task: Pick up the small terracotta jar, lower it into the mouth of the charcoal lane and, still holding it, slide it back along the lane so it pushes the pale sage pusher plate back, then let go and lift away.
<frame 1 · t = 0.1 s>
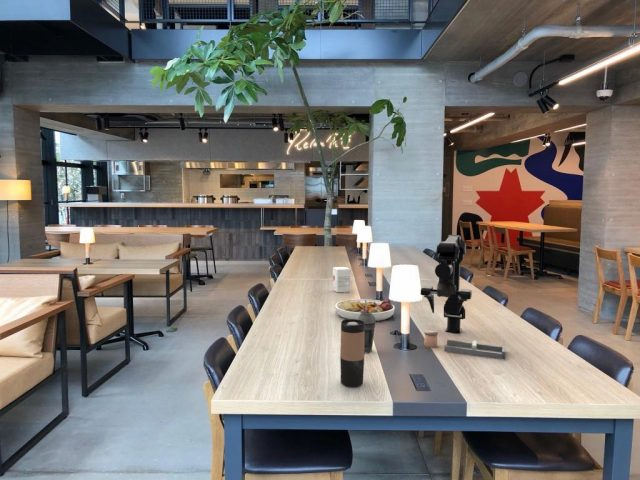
hand: (445, 314, 176), 14 cm above the table, tool pointing down, fingers open, 9 cm apart
lane: (474, 351, 176), on the table
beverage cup: (365, 351, 175), on the table
jar: (430, 345, 182), on the table
bowl: (364, 315, 230), on the table
supplement box: (341, 291, 287), on the table
pusher plate: (474, 346, 176), point 2 cm above the table, slide at 0.0 cm
travel mug: (351, 383, 145), on the table
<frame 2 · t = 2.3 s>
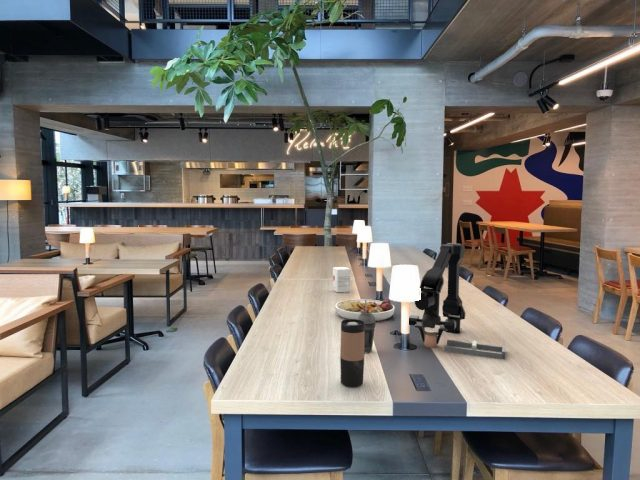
hand: (430, 343, 182), 1 cm above the table, tool pointing down, fingers closed on jar, 5 cm apart
jar: (430, 345, 182), on the table, touching gripper
everything else where it was.
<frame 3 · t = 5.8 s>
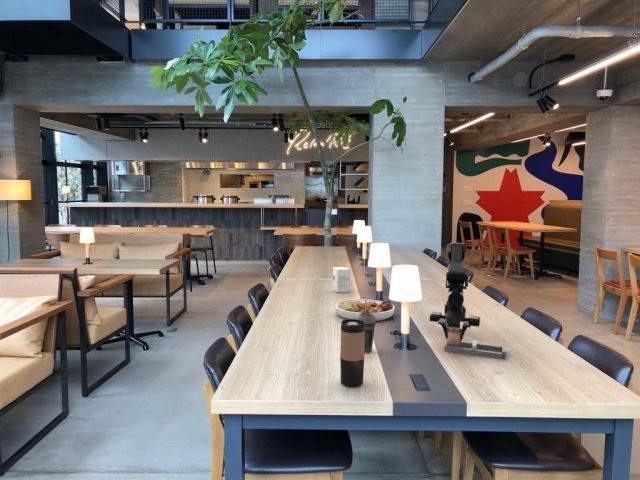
hand: (453, 339, 179), 4 cm above the table, tool pointing down, fingers closed on jar, 5 cm apart
jar: (453, 342, 179), point 2 cm above the table, touching gripper
everything else where it was.
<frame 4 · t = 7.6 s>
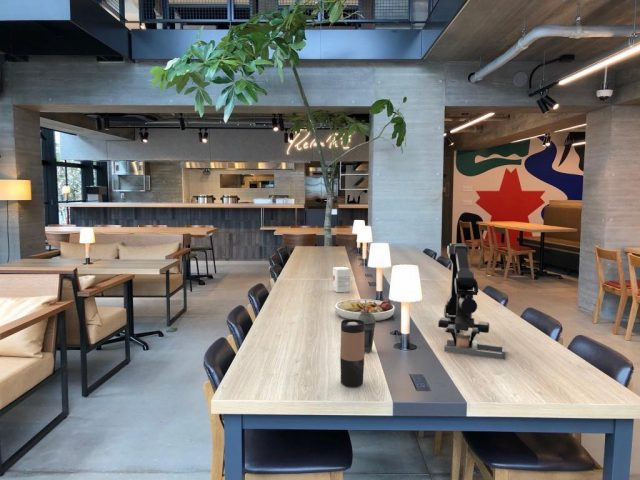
hand: (462, 346, 177), 2 cm above the table, tool pointing down, fingers closed on jar, 5 cm apart
jar: (462, 348, 177), resting in lane, touching gripper
pusher plate: (474, 346, 176), point 2 cm above the table, slide at 0.2 cm, touching gripper
everything else where it was.
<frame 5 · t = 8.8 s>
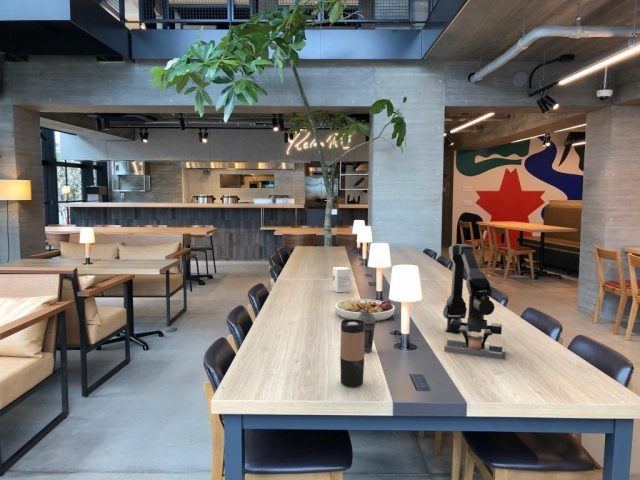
hand: (474, 347, 176), 2 cm above the table, tool pointing down, fingers closed on jar, 5 cm apart
jar: (474, 350, 176), resting in lane, touching gripper
pusher plate: (487, 348, 174), point 2 cm above the table, slide at 4.6 cm, touching gripper
everything else where it was.
when the fingers open (2 cm above the table, at t = 9.0 s): jar stays where it is, resting in lane.
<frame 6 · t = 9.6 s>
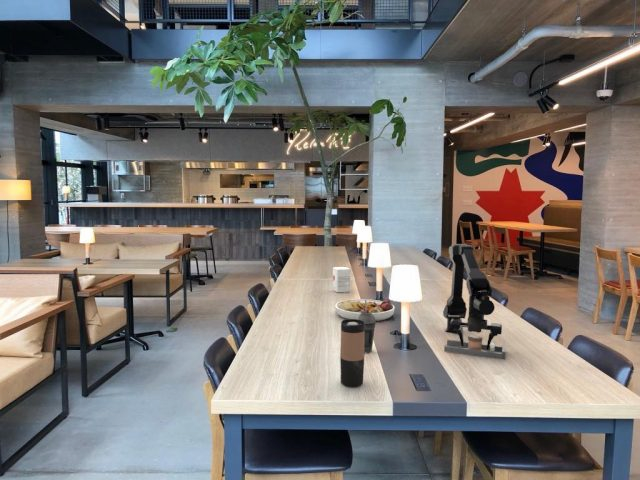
hand: (474, 347, 176), 2 cm above the table, tool pointing down, fingers open, 9 cm apart
jar: (474, 351, 176), resting in lane
pusher plate: (492, 349, 173), point 2 cm above the table, slide at 6.6 cm, touching gripper
everything else where it was.
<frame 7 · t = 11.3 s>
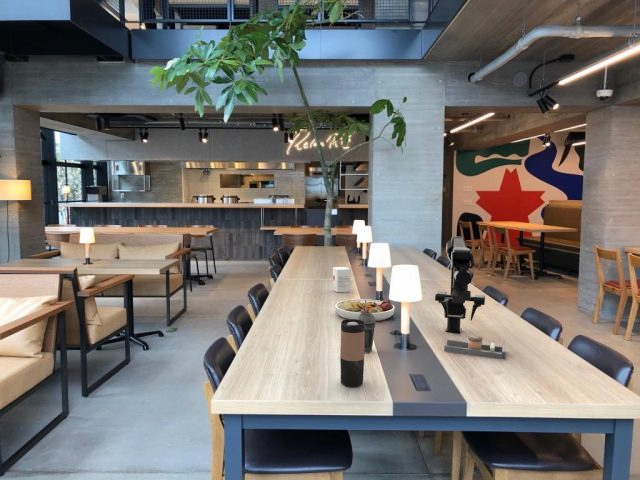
hand: (459, 319, 180), 11 cm above the table, tool pointing down, fingers open, 9 cm apart
pusher plate: (492, 349, 173), point 2 cm above the table, slide at 6.6 cm
everything else where it was.
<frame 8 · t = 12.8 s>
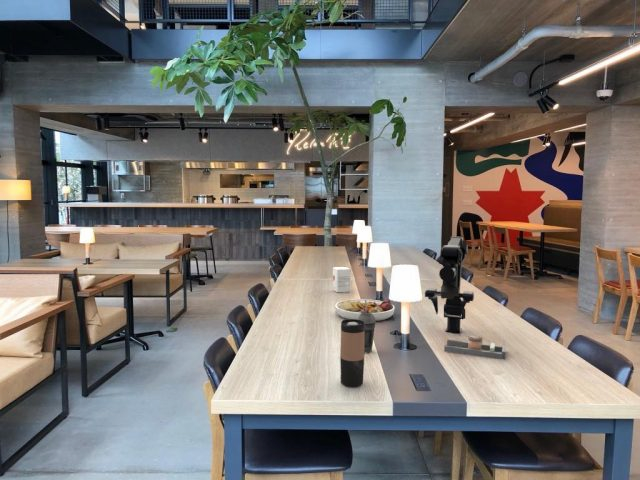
hand: (448, 315, 183), 12 cm above the table, tool pointing down, fingers open, 9 cm apart
nothing on the table moved.
at the end: jar inside the target area on the lane (1.1 cm from its centre), point 0.0 cm above the lane's base; pusher plate slide at 6.6 cm; jar tilted 0° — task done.
